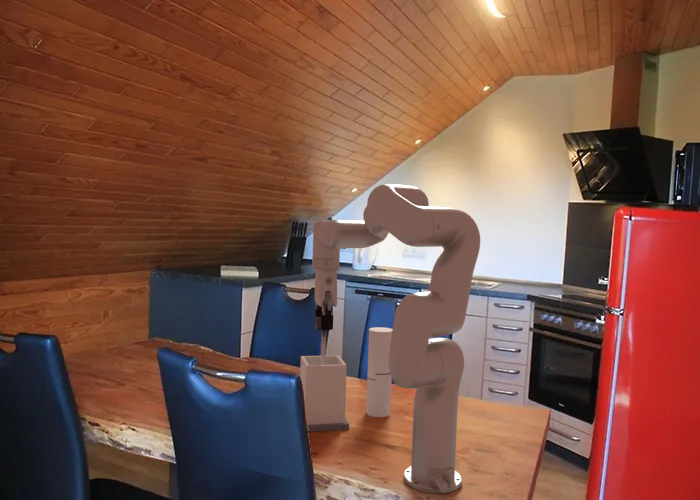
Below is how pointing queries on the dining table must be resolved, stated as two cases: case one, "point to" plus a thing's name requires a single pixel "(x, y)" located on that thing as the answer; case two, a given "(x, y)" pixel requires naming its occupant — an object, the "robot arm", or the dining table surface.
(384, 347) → the cylindrical container
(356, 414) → the dining table surface
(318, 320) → the plunger
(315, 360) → the press carafe
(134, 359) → the dining table surface
